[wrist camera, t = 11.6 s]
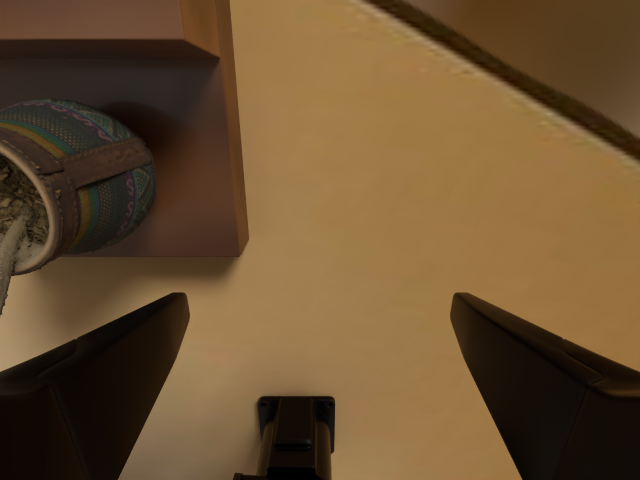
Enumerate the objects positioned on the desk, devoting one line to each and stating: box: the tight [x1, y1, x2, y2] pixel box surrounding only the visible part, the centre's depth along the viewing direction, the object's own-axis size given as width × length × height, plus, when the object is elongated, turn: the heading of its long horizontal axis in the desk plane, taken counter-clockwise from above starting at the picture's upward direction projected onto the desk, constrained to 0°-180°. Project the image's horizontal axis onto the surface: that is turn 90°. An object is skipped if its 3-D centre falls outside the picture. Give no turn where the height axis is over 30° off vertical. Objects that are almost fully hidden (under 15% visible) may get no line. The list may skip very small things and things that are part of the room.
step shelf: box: [0, 0, 249, 257], centre depth 17 cm, size 16×14×8 cm
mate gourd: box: [0, 98, 157, 315], centre depth 15 cm, size 7×8×10 cm
